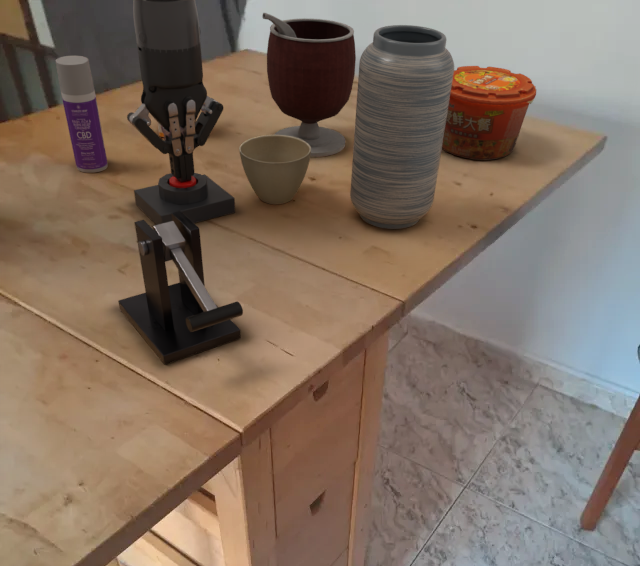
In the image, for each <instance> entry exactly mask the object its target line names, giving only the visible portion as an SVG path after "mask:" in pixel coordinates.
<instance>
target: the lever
mask: <svg viewBox="0 0 640 566" xmlns="http://www.w3.org/2000/svg"><path fill="white" fill-rule="evenodd" d="M152 228H153V229H154V230H155V231H156V232H157V233H158V234H159V235H160V236H161V237H162V241H163V249H164V256H165V263H166V262H169V261H172V262H173V264H174V265H175V267H176V269H177V271H178V270H179V272H180V273H181V275H182V277H183V278H184V280H185V282H186V283H187V285H188V287H189V288H190V290H191V292H192V293H193V295H194V296H195V298H196V300H197V301H198V303H199V305H200V306H201V308H202V310H203V311H204V312H202V313H199V314H196V315H193V316H190V317H187V318H186V325H187V327H188V329H189V331H190V332H194V331H197V330H200V329H203V328H206V327H209V326H212V325H215V324H218V323H221V322H224V321H227V320H230V319H231V320H232V319H235V318H238V317H242V316H243V314H244V310H243V307H242V304H241V303H240V302H239V301H234V302H230V303H227V304H224V305H221V306H218V305H217V304H216V303H215V302H214V300H213V298H212V297H211V295H210V293H209V292H208V289H207V288H206V286H205V287H204V285H203V283H202V282H201V280H200V279H199V277H198V275H197V274H196V272H195V270H194V269H193V267H192V266H191V264H190V262H189V261H188V259H187V257H186V256H185V254H184V251H185V239H184V237H183V236H182V234H181V232H180V231H179V229H178V228H177V226H176V224H175V223H174V221H170V222H166V223H162V224H159V225H156V224H155V225H153V226H152ZM215 304H216V305H217V306H218V308H217V306H216V305H215Z"/></svg>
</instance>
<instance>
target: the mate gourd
mask: <svg viewBox="0 0 640 566" xmlns="http://www.w3.org/2000/svg"><path fill="white" fill-rule="evenodd" d="M261 17H262V20H268V21H270V22H271V23H272V24H271V25H270V26H269V30H270V31H269V35H268V41H267V42H268V43H267V49H266V75H267V80H268V88H269V92H270V96H271V98H272V100H273V101H274V103H275V104H276V106H277V107H278V109H279V110H280V111H281V113H283V115H286V116H288V117H290V118H293V119H296V120H298V121H300V122H301V123H300V125H294V126H289V127H285V128H282V129H279V130H278V131H276V132H275V133H274V134H273V135H286V136H292V137H296V138H299V139H301V140H303V141H305V142H307V143H308V144H309V145H310V147H311V154H310V158H321V157H327V156H332V155H336V154H338V153H339V152H340V153H341V151H343V150H344V148H345V147H346V138H345V136H344V135H343V134H341V132H339V131H337V130H334V129H332V128H329V127H323V126H319V122H321V121H324V120H327V119H329V118H333V117H336V116H337V115H338V114H340V113H341V111H342V110H343V108H344V107H345V106H346V104H347V103H348V102H349V100H350V97H351V95H352V94H351V93H352V90H353V85H354V80H355V74H356V61H357V60H356V59H357V56H356V42H355V41H356V40H355V35H354V34H355V30H354V28H353V27H352V26H350V25H348V24H346V23H344V22H339V21H335V20H331V19H322V18H305V17H304V18H290V19H283V20H282V19H280V18H278V17H276V16H274V15H272V14H270V13H267V12H262V16H261Z"/></svg>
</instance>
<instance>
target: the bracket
mask: <svg viewBox="0 0 640 566" xmlns="http://www.w3.org/2000/svg"><path fill="white" fill-rule="evenodd" d="M171 214H172V221H174V223H175V224H176V226H177V228H178V229H179V231H180V232H181V234H182V236H183V237H184V239H185V251H184V254H185V256H186V257H187V259H188V261H189V262H190V264H191V266H192V267H193V269H194V270H195V272H196V274H197V275H198V277H199V279H200V280H201V282H202V283H203V285H204V287H205V288H206V286H205V273H204V264H203V263H204V262H203V253H202V252H203V251H202V241H201V230H200V227H199V226H198V225H197V224H196V223H193V222H192V221H191V220H190V219H189V218H188V217H187V216H185V215H184V214H183V213H182V212H181V211H177V212H173V213H171ZM134 227H135V228H134V229H135V234H136V241H137V246H138V253H139V258H140V265H141V273H142V278H143V286H144V291H145V292H143V293H140V294H139V293H138V294H136V295H133V296H130V297H126V298H122V299H119V300H117V301H118V307H119V310H120V312H121V313H122V314H123V315H124V316H125V318H126V319H127V320H128V321H129V323H130V324H131V325H132V327H134V329H135V330H136V331H137V333H138V334H139V335H140V336H141V337H142V339H143V340H144V341H145V343H146V344H147V345H148V346H149V347H150V348H151V350H152V351H153V352H154V353H155V355H156V356H157V357H158V359H160V361H161V362H162V363H163V364H164V365H168V364H171V363H174V362H177V361H180V360H183V359H186V358H188V357H191V356H194V355H197V354H200V353H202V352H206V351H209V350H212V349H214V348H218V347H220V346H222V345H225V344H229V343H232V342H235V341H237V340H240V339H241V337H242V335H241V334H242V331H241V328H240V327H239V326H238V325H237V324H235V322H234V321H233V320H232V319H230V320H227V321H224V322H221V323H218V324H215V325H212V326H209V327H206V328H203V329H200V330H197V331H194V332H190V331H189V329H188V327H187V325H186V318H187V317H190V316H193V315H196V314H199V313H202V312H204V311H203V310H202V308H201V306H200V305H199V303H198V301H197V300H196V298H195V296H194V295H193V293H192V292H191V290H190V288H189V287H188V285H187V283H186V282H185V280H184V278H183V277H182V275H181V273H180V272H179V270H178V269H177V272H178V280H179V282H176V283H173V284H170V285H169V280H168V271H167V265H166V262H165V256H164V249H163V241H162V237H161V236H160V235H159V234H158V233H157V232H156V231H155V230H154V229H153V226H151V225H150V224H149V223H147V222H146V220H145V219H140V220H136V221H134ZM215 305H216V306H217V308H218V307H219V306H218V305H217V304H216V303H215Z"/></svg>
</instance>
